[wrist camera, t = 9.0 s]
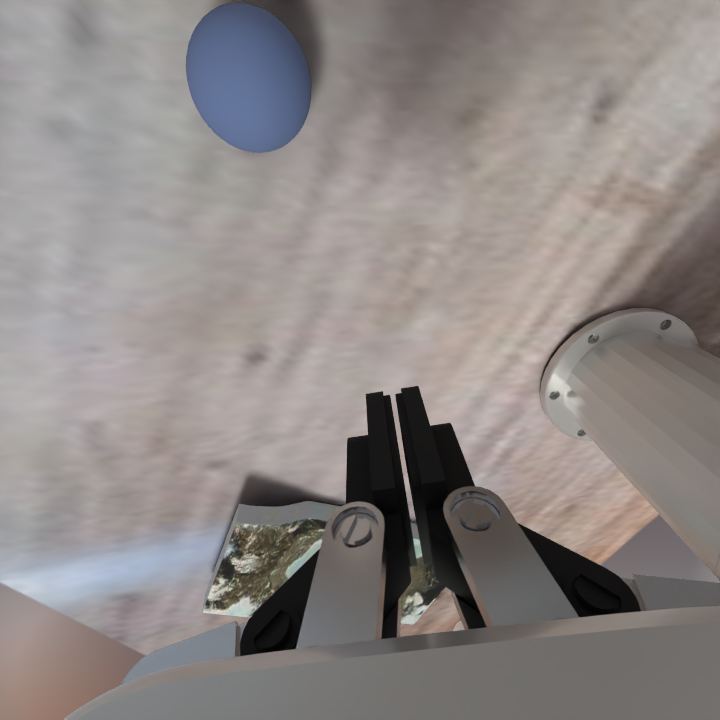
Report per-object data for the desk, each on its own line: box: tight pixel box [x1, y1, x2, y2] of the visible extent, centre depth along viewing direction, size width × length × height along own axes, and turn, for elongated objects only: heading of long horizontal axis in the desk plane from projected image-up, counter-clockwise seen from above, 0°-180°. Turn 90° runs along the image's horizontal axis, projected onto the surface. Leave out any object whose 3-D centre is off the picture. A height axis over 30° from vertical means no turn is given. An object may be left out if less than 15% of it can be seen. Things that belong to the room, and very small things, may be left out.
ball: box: [186, 3, 311, 153], centre depth 19 cm, size 6×6×6 cm
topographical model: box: [202, 501, 446, 624], centre depth 41 cm, size 26×15×5 cm, turn 68°
